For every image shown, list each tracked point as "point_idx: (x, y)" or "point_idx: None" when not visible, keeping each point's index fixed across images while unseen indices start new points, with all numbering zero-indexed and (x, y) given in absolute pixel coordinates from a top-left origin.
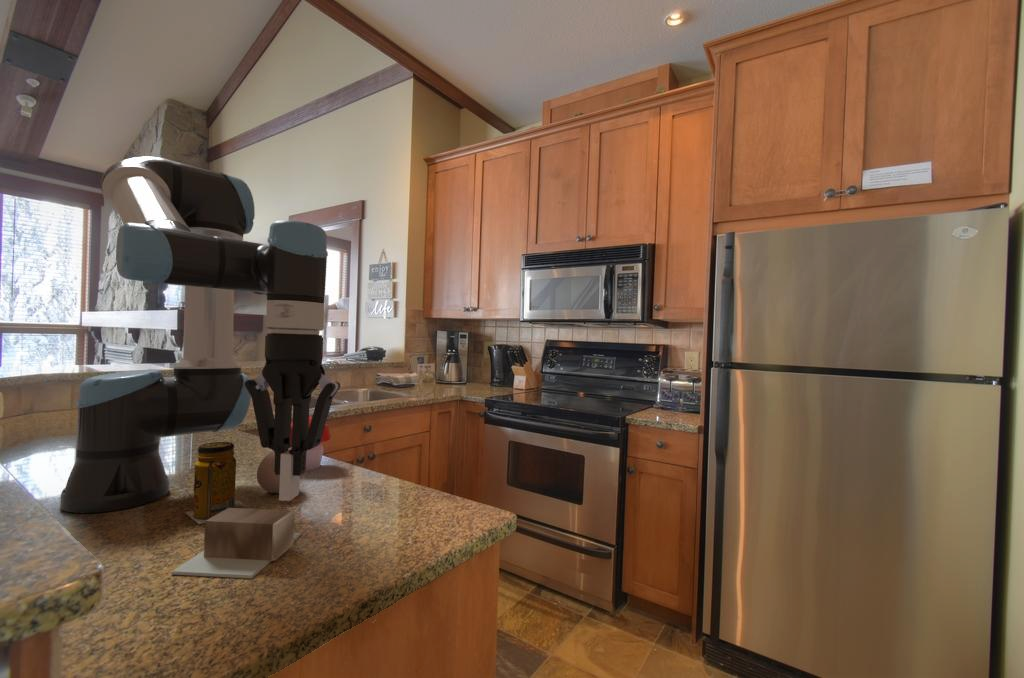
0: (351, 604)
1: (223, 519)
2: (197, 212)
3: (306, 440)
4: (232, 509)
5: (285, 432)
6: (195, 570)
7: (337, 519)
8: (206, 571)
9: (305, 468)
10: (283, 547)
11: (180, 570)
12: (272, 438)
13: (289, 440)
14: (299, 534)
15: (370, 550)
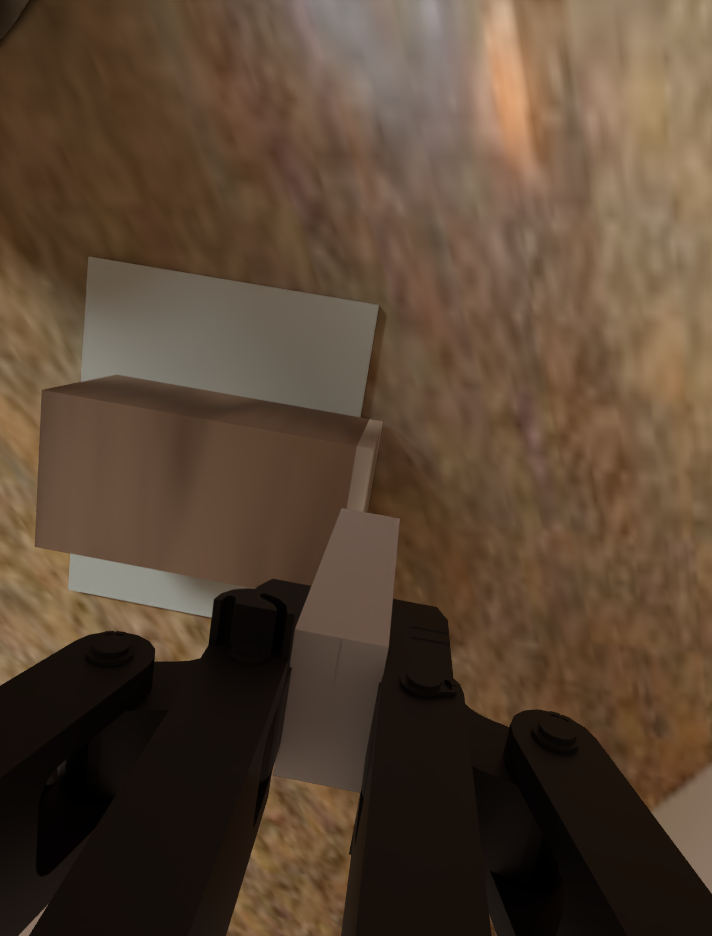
0: (663, 799)
1: (99, 534)
2: None
3: (499, 921)
4: (73, 416)
5: (238, 868)
6: (135, 591)
7: (504, 106)
8: (171, 600)
9: (447, 626)
10: (368, 503)
11: (90, 586)
12: (116, 756)
13: (274, 706)
14: (376, 319)
15: (700, 467)
